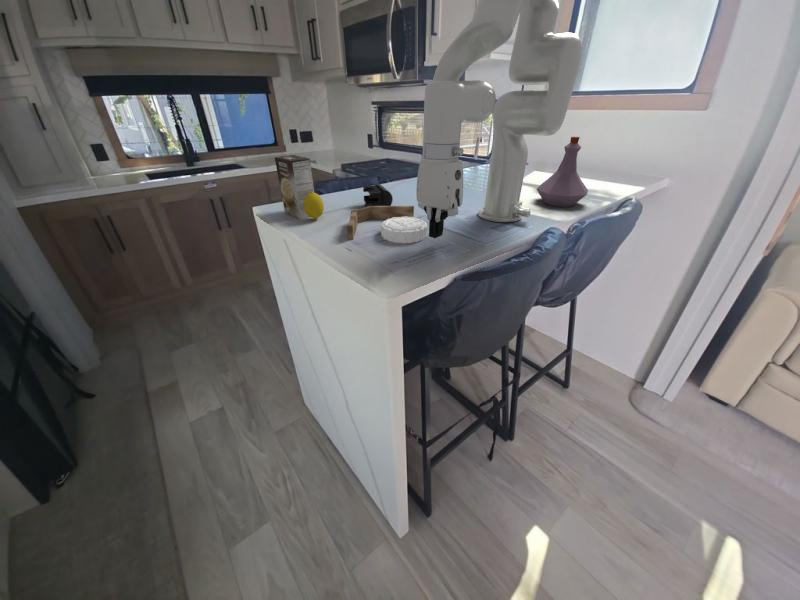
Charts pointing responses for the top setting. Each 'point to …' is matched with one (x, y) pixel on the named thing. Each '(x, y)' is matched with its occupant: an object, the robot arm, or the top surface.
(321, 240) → the top surface
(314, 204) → the lemon
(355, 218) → the centring jig
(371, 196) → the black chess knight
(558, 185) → the flask
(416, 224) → the mooncake
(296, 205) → the coffee box
